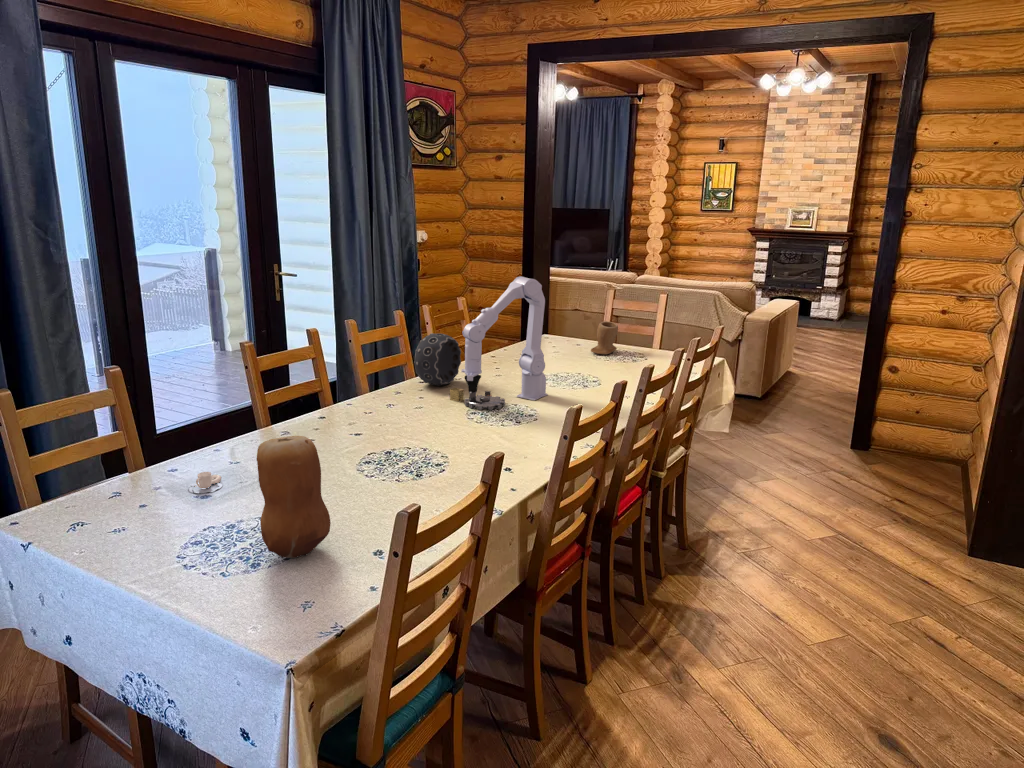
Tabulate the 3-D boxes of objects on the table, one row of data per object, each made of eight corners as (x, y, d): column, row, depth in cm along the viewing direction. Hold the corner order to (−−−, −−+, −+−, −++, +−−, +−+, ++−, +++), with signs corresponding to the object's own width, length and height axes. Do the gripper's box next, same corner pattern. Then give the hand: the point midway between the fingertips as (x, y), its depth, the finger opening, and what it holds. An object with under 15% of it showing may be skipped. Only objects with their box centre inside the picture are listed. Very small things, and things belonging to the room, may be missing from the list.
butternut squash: (288, 533, 150) (280, 423, 143) (343, 542, 146) (338, 431, 140) (247, 564, 137) (236, 445, 131) (306, 575, 133) (298, 454, 127)
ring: (412, 388, 264) (411, 336, 259) (440, 377, 281) (440, 328, 276) (435, 392, 259) (435, 340, 254) (463, 380, 276) (463, 331, 271)
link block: (450, 400, 250) (449, 389, 249) (455, 398, 252) (455, 387, 251) (458, 401, 248) (458, 391, 247) (463, 400, 250) (463, 389, 249)
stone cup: (610, 357, 321) (612, 325, 317) (587, 354, 327) (588, 322, 323) (623, 351, 334) (624, 321, 330) (600, 348, 340) (601, 318, 336)
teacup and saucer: (216, 479, 178) (214, 464, 177) (232, 487, 173) (230, 472, 172) (182, 489, 172) (180, 474, 171) (198, 498, 167) (196, 483, 166)
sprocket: (460, 399, 249) (460, 387, 248) (498, 396, 254) (498, 384, 252) (470, 411, 236) (470, 398, 235) (510, 407, 241) (510, 394, 239)
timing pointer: (490, 398, 253) (490, 391, 252) (484, 398, 253) (484, 391, 252) (490, 397, 254) (490, 391, 253) (485, 397, 254) (485, 391, 253)
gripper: (465, 353, 248) (464, 389, 252) (458, 362, 234) (458, 400, 238) (484, 354, 248) (483, 390, 251) (479, 363, 234) (478, 401, 237)
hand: (472, 395), depth 244 cm, fingers closed, pressing on sprocket
